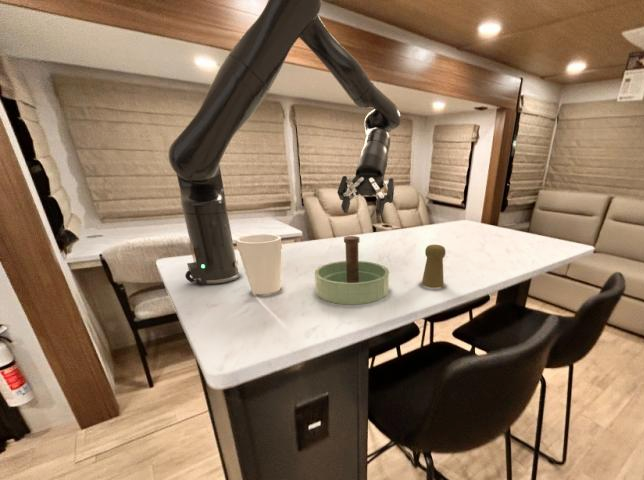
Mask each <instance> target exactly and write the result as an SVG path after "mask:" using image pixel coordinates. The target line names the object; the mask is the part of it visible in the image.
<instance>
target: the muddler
mask: <svg viewBox="0 0 644 480" xmlns="http://www.w3.org/2000/svg"><path fill="white" fill-rule="evenodd" d="M343 243H344V244H345V245H344V246H345V261H346V279H347V280H346V281H344V283H359V282H361V281H360V280H359V261H360V260H359V259H360V257H359V243H360V237H359V236H355V235H347V236H343Z"/></svg>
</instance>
